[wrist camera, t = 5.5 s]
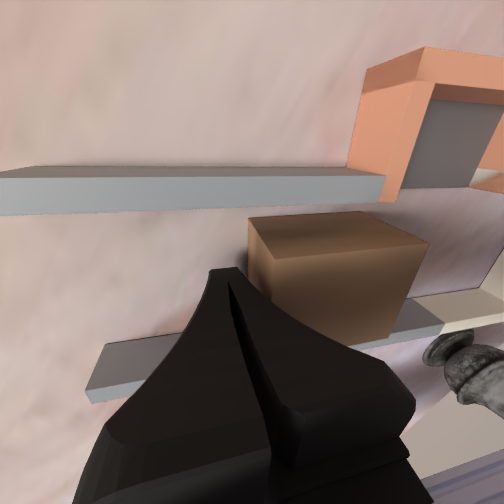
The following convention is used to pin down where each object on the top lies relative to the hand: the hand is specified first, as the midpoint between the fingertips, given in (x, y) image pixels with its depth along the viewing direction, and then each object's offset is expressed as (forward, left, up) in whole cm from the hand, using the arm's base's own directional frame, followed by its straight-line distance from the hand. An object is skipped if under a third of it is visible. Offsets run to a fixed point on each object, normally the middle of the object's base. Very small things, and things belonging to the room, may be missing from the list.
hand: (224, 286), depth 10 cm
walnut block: (0, -4, -1) cm, 5 cm away
